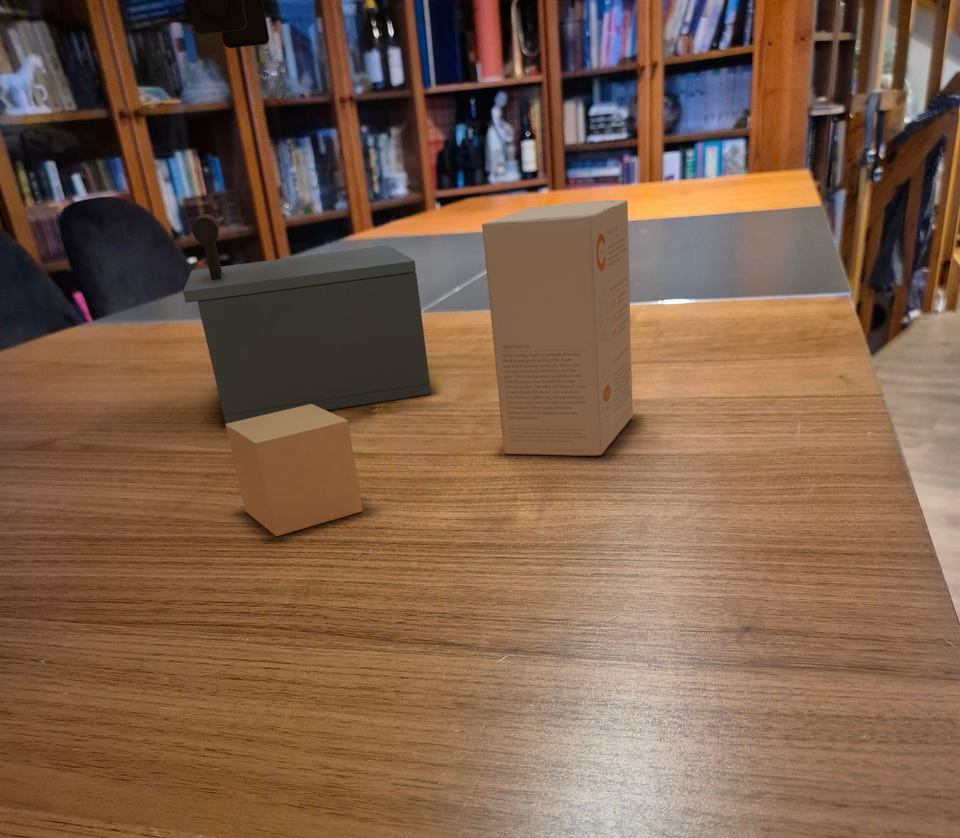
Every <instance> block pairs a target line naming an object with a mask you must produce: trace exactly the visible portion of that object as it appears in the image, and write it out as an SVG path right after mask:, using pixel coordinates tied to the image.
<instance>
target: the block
mask: <svg viewBox="0 0 960 838" xmlns="http://www.w3.org/2000/svg"><path fill="white" fill-rule="evenodd" d="M225 429H226V433H227V438H228V442H229V446H230V451H231V454H232V455H231V456H232V460H233V463H234V468H235V474H236V476H237V477H236V478H237V481H238V485H239V490H240V494H241V497H242V502H243V506H244V511H245V512H246V513H247V514H248V515H249V516H251V518H253V520H255V521H257V522H258V523H259V524H260V525H261V526H263V527H264V528H265V529H266V530H268V531H269V532H270V533H271V534H272V535H274V536H275V537H279V536H282V535H287V534H290V533H293V532H296V531H299V530H304V529H306V528H310V527H314V526H317V525H321V524H324V523H327V522H330V521H334V520H338V519H341V518H344V517H347V516H351V515H354V514H358V513H361V512H364V509H363V502H362V497H361V491H360V485H359V478H358V473H357V466H356V460H355V455H354V449H353V443H352V437H351V432H350V431H351V430H350V425H349V420H348V419H346V418H343V417H341V416H340V415H337V414H334V413H333V412H330V411H329V410H324V409H322V408H320V407H317V406H315V405H313V404H309V405H304V406H300V407H296V408H292V409H287V410H283V411H279V412H274V413H270V414H266V415H262V416H257V417H253V418H249V419H244V420H240V421H236V422H232V423H227V424H226V423H225Z"/></svg>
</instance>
